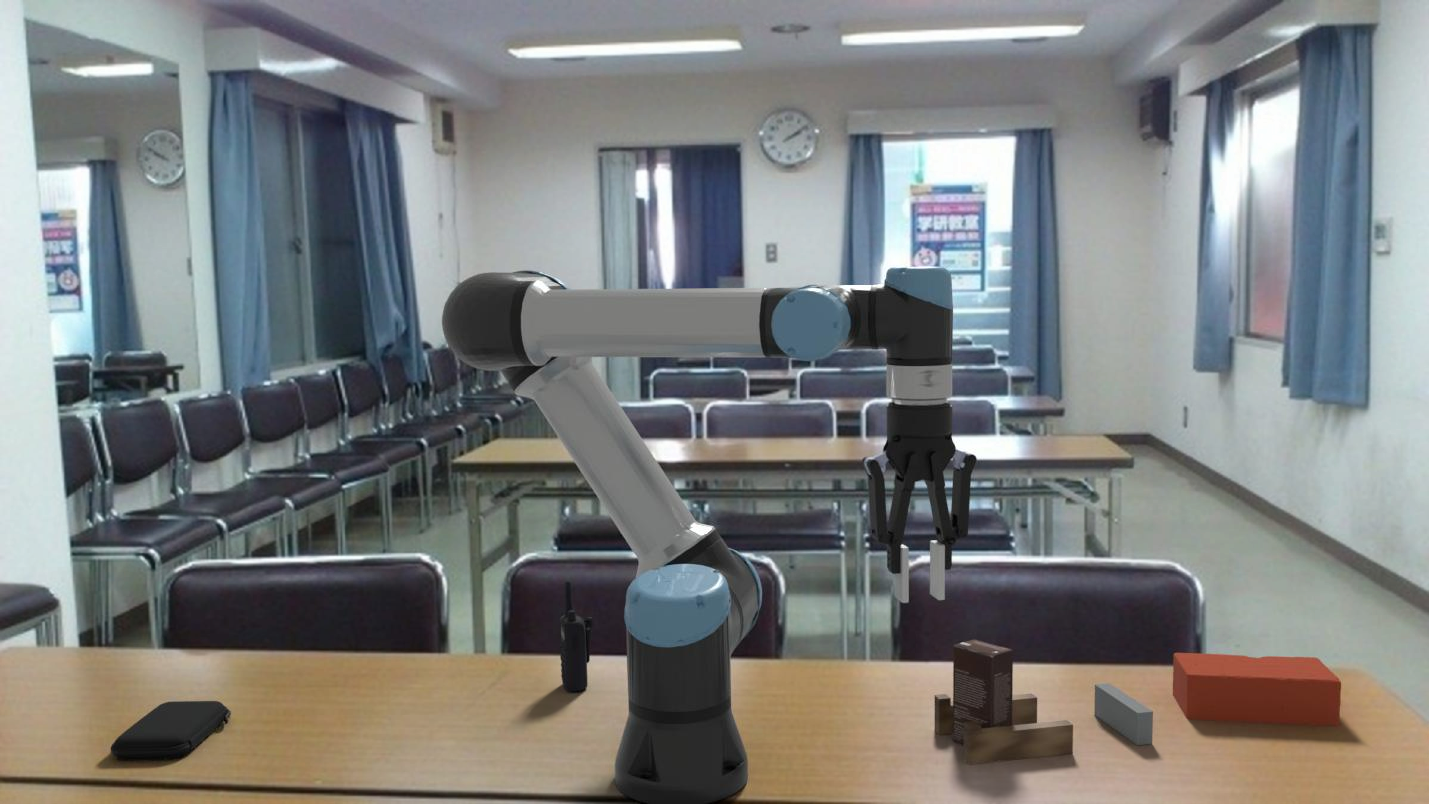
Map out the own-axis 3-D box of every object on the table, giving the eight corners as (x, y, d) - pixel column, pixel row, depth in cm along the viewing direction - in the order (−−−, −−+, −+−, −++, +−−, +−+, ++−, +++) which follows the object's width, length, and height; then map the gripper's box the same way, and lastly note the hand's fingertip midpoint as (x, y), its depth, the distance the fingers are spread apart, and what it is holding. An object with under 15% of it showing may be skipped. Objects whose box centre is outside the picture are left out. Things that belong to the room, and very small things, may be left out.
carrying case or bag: (192, 764, 142) (242, 718, 156) (191, 740, 141) (240, 696, 156) (104, 766, 142) (162, 719, 156) (102, 741, 141) (160, 697, 156)
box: (1014, 745, 141) (1015, 648, 140) (990, 756, 139) (991, 656, 137) (973, 731, 146) (974, 637, 145) (950, 741, 143) (950, 644, 142)
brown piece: (969, 764, 136) (969, 726, 136) (934, 729, 147) (934, 694, 146) (1072, 753, 139) (1073, 716, 138) (1031, 720, 149) (1031, 685, 149)
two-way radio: (559, 682, 167) (555, 578, 165) (590, 678, 168) (587, 575, 166) (566, 695, 161) (562, 588, 160) (598, 691, 163) (595, 585, 161)
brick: (1186, 721, 149) (1187, 675, 148) (1172, 695, 157) (1173, 652, 157) (1340, 728, 146) (1342, 680, 145) (1316, 701, 154) (1318, 657, 154)
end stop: (1137, 745, 141) (1137, 713, 140) (1094, 714, 150) (1094, 684, 150) (1152, 743, 141) (1152, 711, 141) (1108, 713, 151) (1109, 683, 150)
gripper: (859, 407, 131) (861, 612, 133) (1001, 401, 134) (999, 601, 137) (839, 400, 138) (841, 595, 141) (974, 394, 141) (973, 585, 144)
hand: (919, 597), depth 139 cm, fingers open, 4 cm apart
